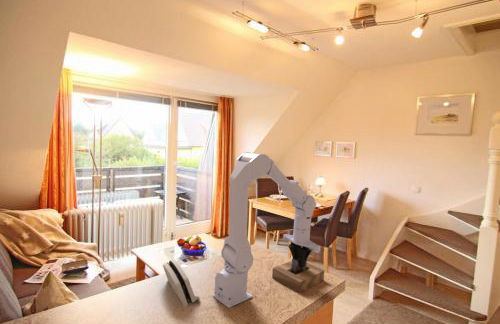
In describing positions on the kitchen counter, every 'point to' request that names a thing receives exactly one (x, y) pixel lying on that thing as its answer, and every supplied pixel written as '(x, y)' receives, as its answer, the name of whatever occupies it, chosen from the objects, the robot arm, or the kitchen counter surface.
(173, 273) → the white game console
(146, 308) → the kitchen counter surface
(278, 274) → the slotted wooden block
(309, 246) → the robot arm
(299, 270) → the grey rectangular block
